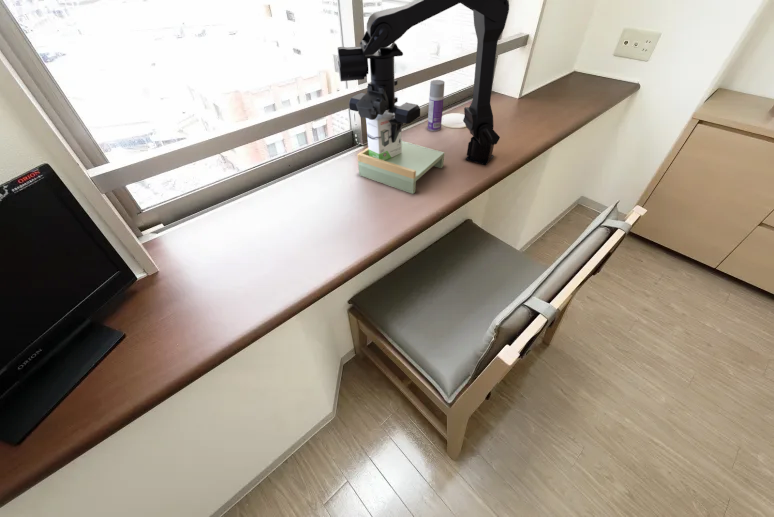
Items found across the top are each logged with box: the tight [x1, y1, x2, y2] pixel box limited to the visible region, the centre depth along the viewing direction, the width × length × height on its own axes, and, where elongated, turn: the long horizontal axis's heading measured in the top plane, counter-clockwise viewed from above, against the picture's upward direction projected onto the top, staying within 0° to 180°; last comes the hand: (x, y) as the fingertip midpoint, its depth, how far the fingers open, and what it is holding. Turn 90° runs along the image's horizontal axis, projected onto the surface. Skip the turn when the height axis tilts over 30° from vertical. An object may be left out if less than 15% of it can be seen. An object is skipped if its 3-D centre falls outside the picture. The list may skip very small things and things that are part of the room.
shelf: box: [357, 140, 446, 195], centre depth 96 cm, size 18×17×6 cm
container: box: [427, 79, 445, 132], centre depth 113 cm, size 5×5×15 cm
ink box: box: [365, 112, 403, 161], centre depth 91 cm, size 9×5×12 cm, turn 132°
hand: (384, 139), depth 92 cm, fingers closed on ink box, 6 cm apart
